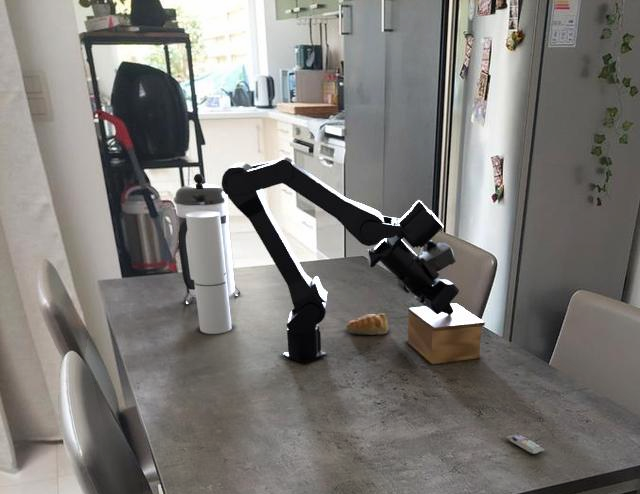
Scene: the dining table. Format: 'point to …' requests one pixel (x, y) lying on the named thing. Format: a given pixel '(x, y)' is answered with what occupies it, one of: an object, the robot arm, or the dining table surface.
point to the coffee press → (187, 202)
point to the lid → (446, 318)
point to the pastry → (368, 324)
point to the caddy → (443, 342)
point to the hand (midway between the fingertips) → (451, 312)
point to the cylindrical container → (209, 271)
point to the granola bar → (525, 443)
